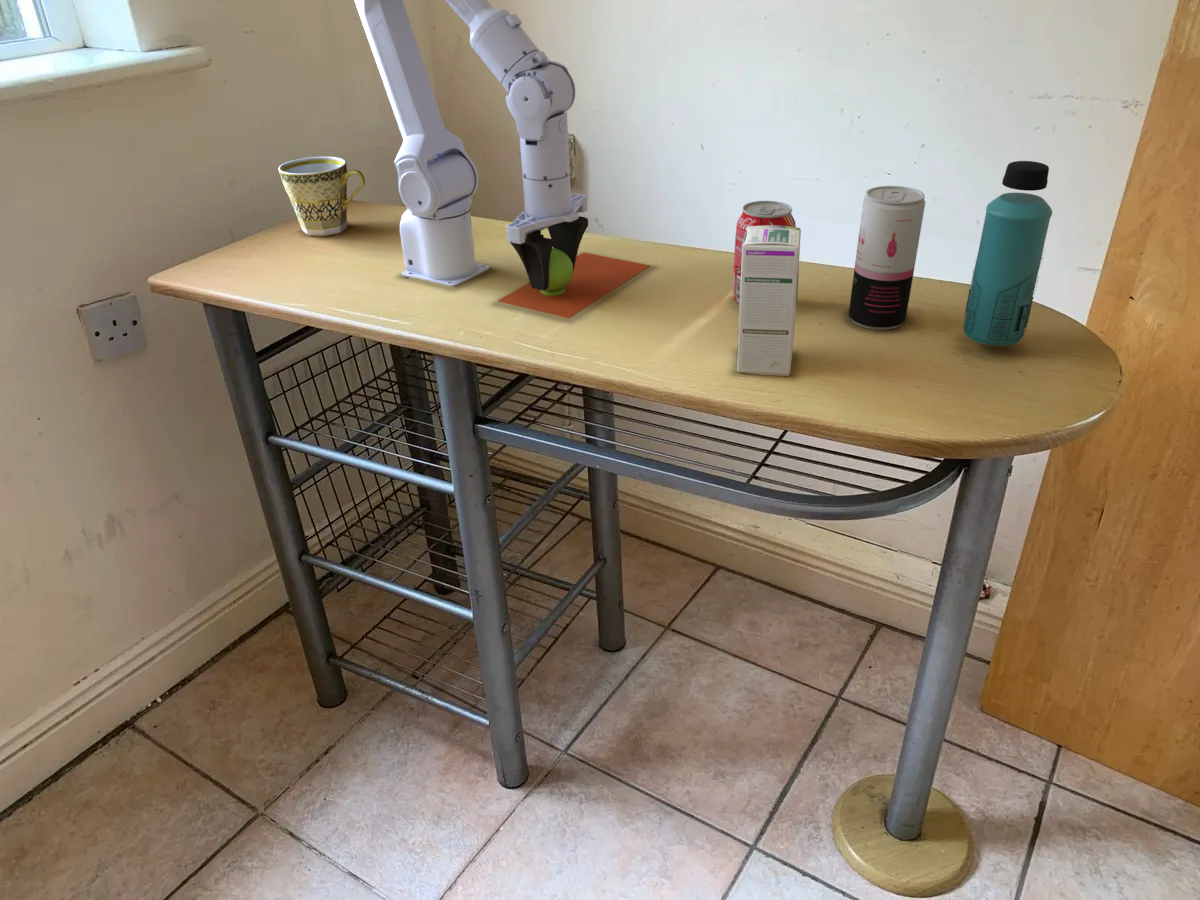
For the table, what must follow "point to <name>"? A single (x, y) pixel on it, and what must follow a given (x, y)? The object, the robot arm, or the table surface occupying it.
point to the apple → (558, 273)
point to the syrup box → (768, 299)
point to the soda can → (757, 216)
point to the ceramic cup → (319, 193)
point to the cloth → (578, 286)
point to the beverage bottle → (1009, 258)
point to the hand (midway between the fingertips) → (552, 281)
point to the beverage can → (886, 256)
